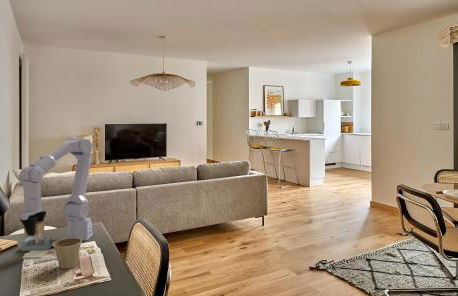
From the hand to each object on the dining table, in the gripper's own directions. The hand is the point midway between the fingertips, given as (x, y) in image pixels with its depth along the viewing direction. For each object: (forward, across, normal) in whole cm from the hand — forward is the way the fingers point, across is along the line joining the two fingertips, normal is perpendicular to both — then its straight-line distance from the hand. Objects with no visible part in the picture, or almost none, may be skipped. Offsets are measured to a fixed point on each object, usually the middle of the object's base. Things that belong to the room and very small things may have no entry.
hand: (34, 233), depth 135 cm
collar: (0, 0, 0) cm, 0 cm away
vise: (+8, -8, -2) cm, 12 cm away
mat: (+8, 0, 0) cm, 8 cm away
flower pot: (+9, +12, +17) cm, 23 cm away
